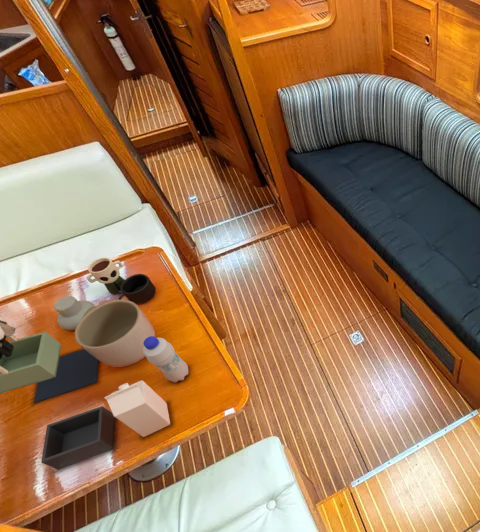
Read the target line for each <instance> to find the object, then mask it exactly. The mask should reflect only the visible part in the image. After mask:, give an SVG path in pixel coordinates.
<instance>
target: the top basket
mask: <svg viewBox="0 0 480 532" xmlns="http://www.w3.org/2000/svg"><path fill="white" fill-rule="evenodd" d="M6 339H8V340H9V341H8V342H9V343H11V344H12V345H13V346H14V349H13V351H12V355H11V356H10V357H6V356H5V355H2V358H1V359H0V395H2V394H5V393H7V392H11V391H15V390H17V389H20V388H24V387H27V386H31V385H34V384H38V382H41V381H44V380H47V379H51V378H54V377H56V373H57V367H58V362H59V357H60V356H61V350H62V344H61V342H59V341H58V340H57V339H56V338H54V337H53V336H52V335H50V334H49V333H48V332H47V331H42V332H38V333H35V334H30V335H28V336H24V337H20V338H16V337H15V336H14V335H11V336H9V337H6Z"/></svg>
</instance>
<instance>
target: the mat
mask: <svg viewBox="0 0 480 532" xmlns="http://www.w3.org/2000/svg"><path fill="white" fill-rule="evenodd" d="M99 362H100V361H99V360H98V359H96V358H95V357H94V356H92V355H91V354H90V353H89V352H87V351H86V350H85V349H84V348H82V349H79V350H76V351H74V352H71V353H67V354H63V355H60V356H59V362H58V367H57V373H56V377H54V378H51V379H47V380H44V381H41V382H37V383H36V389H35V393H34V400H33V403H34V404H36V403H39V402H43V401H45V400H48V399H51V398H54V397H58V396H61V395H64V394H67V393H70V392H73V391H76V390H79V389H81V388H85V387H87V386H91V385H94V384H97V383H98V372H99Z"/></svg>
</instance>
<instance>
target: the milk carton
mask: <svg viewBox="0 0 480 532" xmlns="http://www.w3.org/2000/svg"><path fill="white" fill-rule="evenodd" d="M117 389H118V390H115V391H113V392H111V393H110V394H108V395H106V396H104V399H105V400H106V402H107V405H108V406H109V408H110V412H111V413H113V415H114V417H115V419H117V420H119V421H120V422H122V424H124V425H125V426H126V427H128V428H130V429H131V430H133V431H134V432H135V433H137V434H138V435H139V436H141V437H143V438H144V437H147V436H149V435H151V434H154V433H155V432H158V431H160V430H162V429H164V428H166V427H168V426H170V425H171V419H170V414H169V409H168V408H169V407H168V403H167V401H165V400H164V399H163V398H162V397H161V396H160V395H159V394H158V393H157V392H156V391H154V390H153V389H152V387H150V386H149V384H147V383H146V382H145V381H144V380H143V379H141V380H139V381H137V382H134V383H132V384H129V383H128V382H125V383H123V384H121V385H119V386H118V388H117Z"/></svg>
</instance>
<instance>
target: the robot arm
mask: <svg viewBox="0 0 480 532" xmlns="http://www.w3.org/2000/svg"><path fill="white" fill-rule="evenodd" d="M15 333H16V327H14V326H11V325H10V324H8V322H7V321H6V320H5V318H4V317H2V316H0V359H1V358H2V355H5V356H6V357H10V356H11V355H12V351H13V349H14V346H13V345H12V344H11V343H9V341H8V340H6V339H7V338H6V337H9V336H11V335H12V336H14V334H15Z"/></svg>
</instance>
